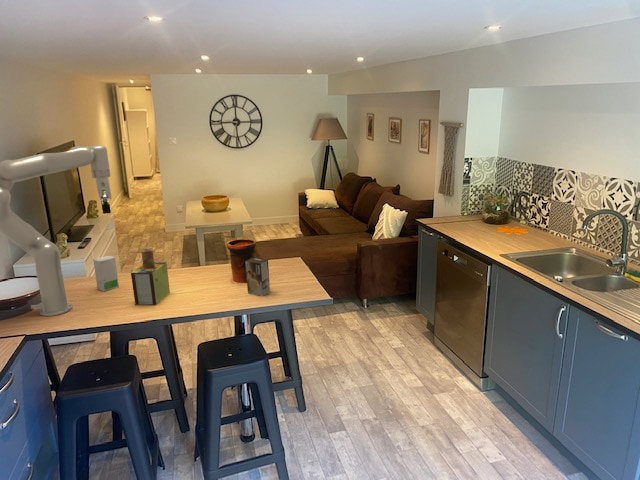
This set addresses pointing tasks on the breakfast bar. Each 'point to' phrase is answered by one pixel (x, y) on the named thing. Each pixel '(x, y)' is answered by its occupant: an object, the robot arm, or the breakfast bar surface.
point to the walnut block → (147, 258)
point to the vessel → (240, 258)
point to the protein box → (150, 284)
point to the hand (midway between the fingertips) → (106, 211)
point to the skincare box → (106, 273)
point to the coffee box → (257, 276)
